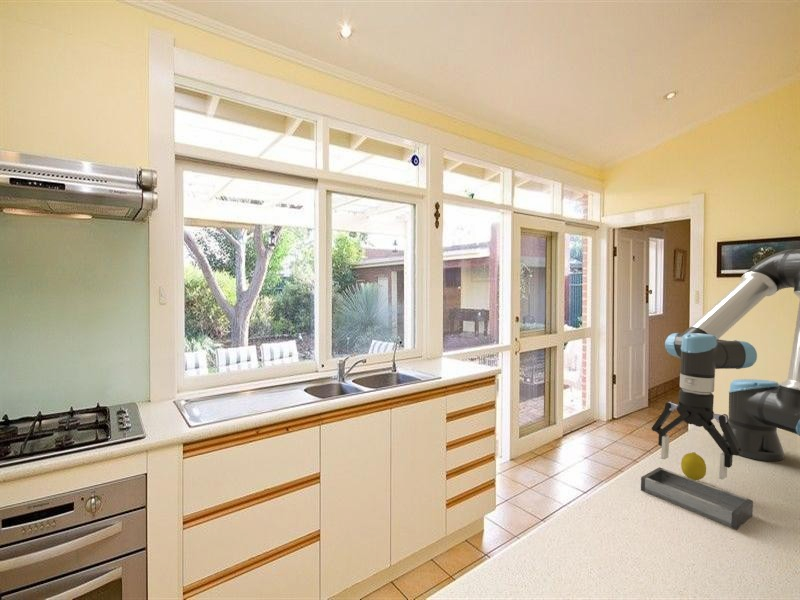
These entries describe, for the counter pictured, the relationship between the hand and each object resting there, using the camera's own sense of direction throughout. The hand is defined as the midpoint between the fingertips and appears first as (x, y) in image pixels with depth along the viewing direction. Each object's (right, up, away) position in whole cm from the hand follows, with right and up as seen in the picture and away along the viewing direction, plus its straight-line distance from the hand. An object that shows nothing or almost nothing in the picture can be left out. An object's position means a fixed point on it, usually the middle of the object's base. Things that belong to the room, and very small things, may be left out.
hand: (692, 467), depth 108 cm
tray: (-7, -4, -10) cm, 13 cm away
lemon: (0, -4, 0) cm, 4 cm away
